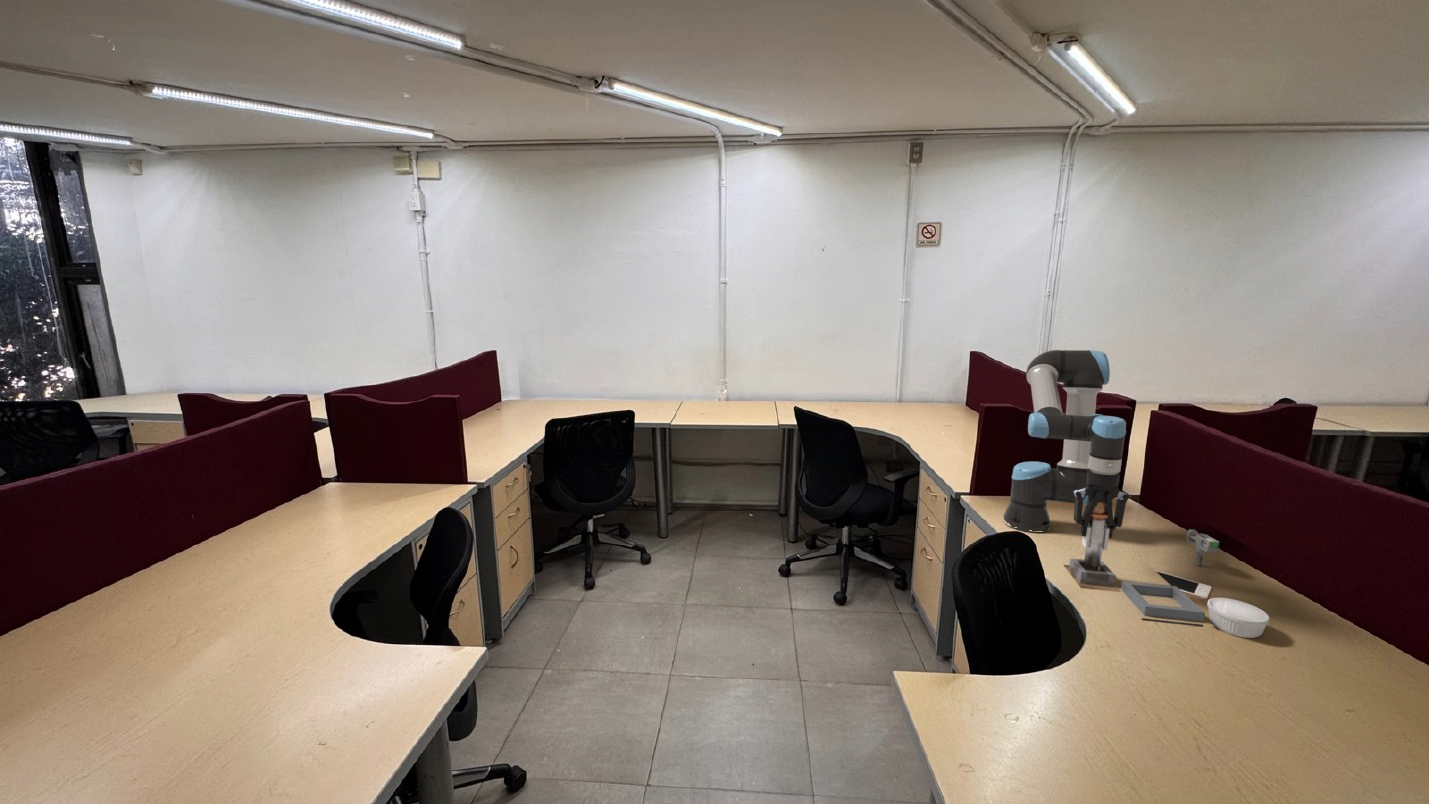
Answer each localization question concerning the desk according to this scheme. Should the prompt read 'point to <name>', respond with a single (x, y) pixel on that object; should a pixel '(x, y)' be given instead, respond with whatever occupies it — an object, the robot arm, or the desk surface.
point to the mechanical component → (1201, 544)
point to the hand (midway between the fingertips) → (1094, 546)
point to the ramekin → (1237, 617)
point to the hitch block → (1092, 575)
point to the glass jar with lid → (1096, 538)
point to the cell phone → (1187, 585)
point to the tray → (1185, 612)
